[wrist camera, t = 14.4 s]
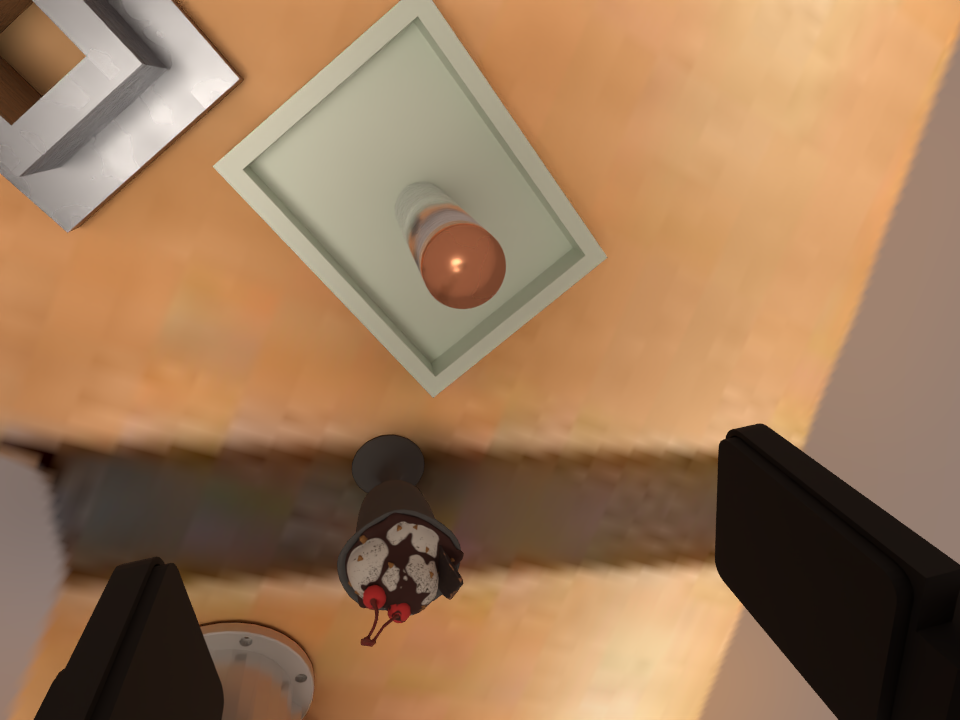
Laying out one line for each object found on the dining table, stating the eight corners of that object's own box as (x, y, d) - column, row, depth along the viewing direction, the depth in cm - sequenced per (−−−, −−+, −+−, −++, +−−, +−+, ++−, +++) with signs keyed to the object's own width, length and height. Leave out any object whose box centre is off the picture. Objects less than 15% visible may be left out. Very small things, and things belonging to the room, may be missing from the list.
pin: (444, 177, 36) (500, 218, 23) (453, 232, 37) (510, 300, 24) (389, 186, 36) (415, 233, 23) (400, 241, 37) (430, 316, 24)
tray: (590, 247, 40) (607, 257, 37) (427, 379, 41) (433, 397, 39) (414, -8, 33) (420, -17, 30) (222, 161, 34) (212, 166, 31)
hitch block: (243, 80, 33) (223, 75, 27) (78, 227, 34) (27, 251, 28) (39, -156, 28) (-35, -219, 22) (-147, 25, 29) (-261, 8, 23)
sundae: (317, 472, 42) (305, 648, 29) (387, 405, 41) (409, 553, 28) (388, 523, 45) (408, 706, 31) (455, 461, 44) (505, 621, 30)
